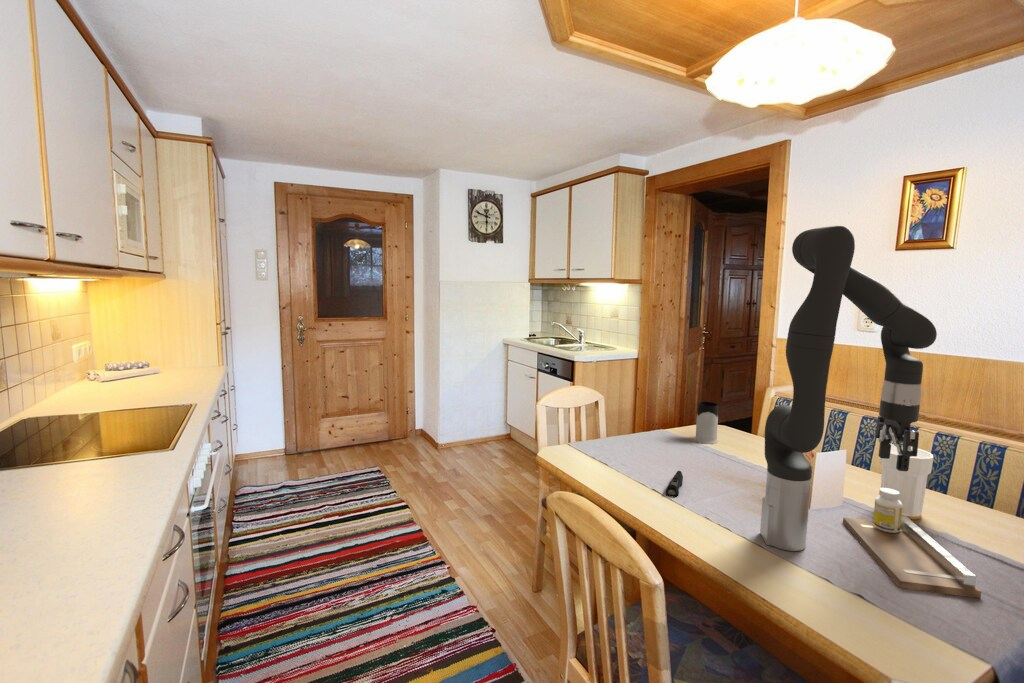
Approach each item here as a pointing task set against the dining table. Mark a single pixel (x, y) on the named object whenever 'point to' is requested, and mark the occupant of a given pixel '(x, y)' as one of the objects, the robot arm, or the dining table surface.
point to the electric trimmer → (675, 485)
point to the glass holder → (707, 423)
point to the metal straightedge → (938, 553)
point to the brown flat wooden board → (906, 560)
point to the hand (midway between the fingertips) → (892, 464)
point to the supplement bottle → (888, 511)
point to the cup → (908, 480)
